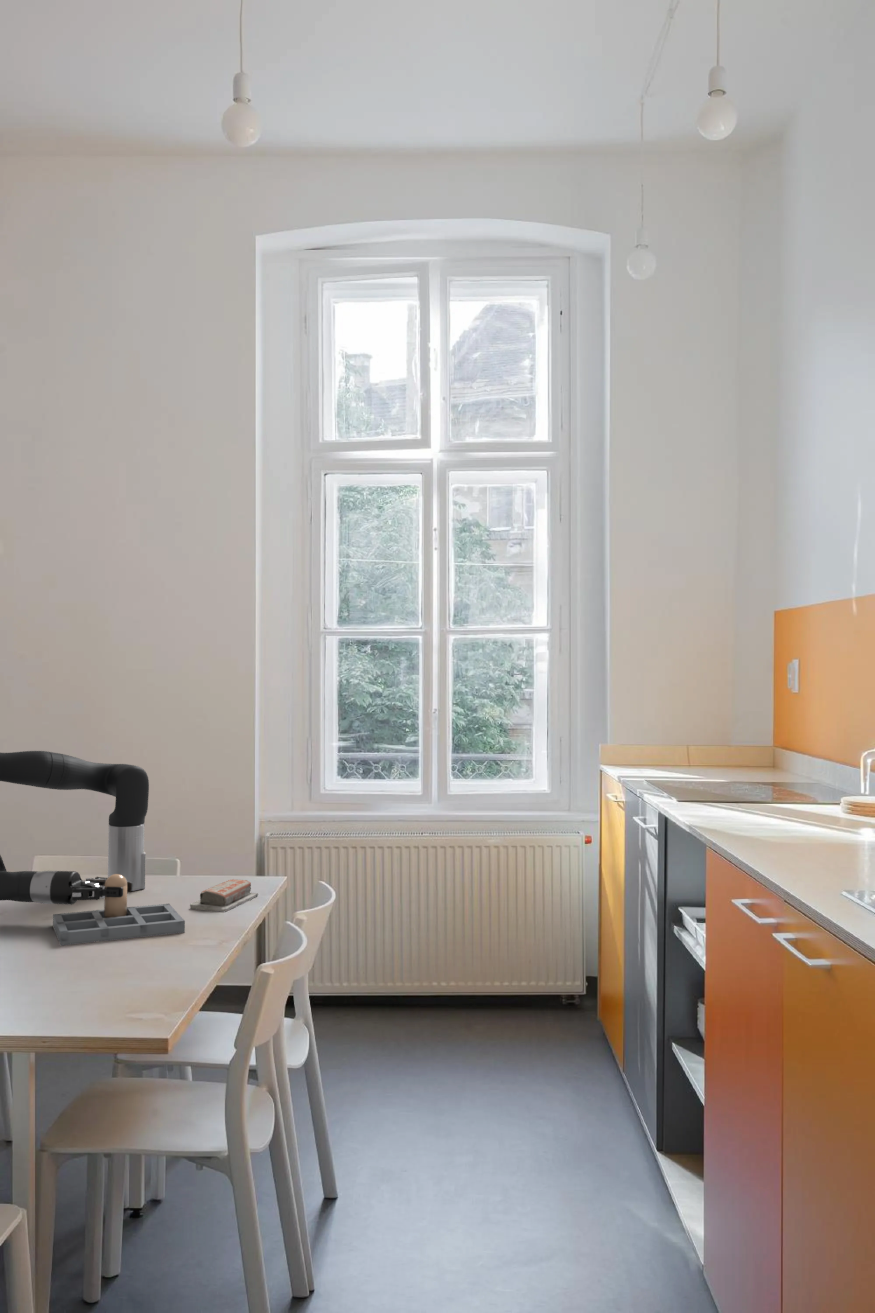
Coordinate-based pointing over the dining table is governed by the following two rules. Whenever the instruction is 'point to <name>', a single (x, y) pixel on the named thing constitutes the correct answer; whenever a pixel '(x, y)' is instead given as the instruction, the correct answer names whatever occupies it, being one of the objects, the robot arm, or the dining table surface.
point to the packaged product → (224, 896)
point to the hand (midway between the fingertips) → (126, 889)
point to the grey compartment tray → (117, 924)
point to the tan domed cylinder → (116, 904)
